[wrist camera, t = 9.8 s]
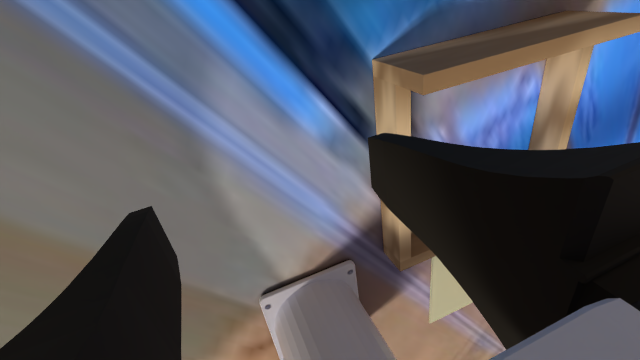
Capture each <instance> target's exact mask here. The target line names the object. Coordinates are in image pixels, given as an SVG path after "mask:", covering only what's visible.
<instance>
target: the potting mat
mask: <svg viewBox="0 0 640 360" xmlns="http://www.w3.org/2000/svg"><path fill="white" fill-rule="evenodd" d="M471 303H473V301H472V300H471V299H470V298H469V296H468V295H467V294H466V292H465V291H464V290H463V289H462V287H461V286H460V285H459V283H458V282H457V281H456V279H455V278H454V277H453V276H452V275H451V273H450V272H449V271H448V270H447V268H446V267H445V266H444V265H443V264H442V262H441V261H440V260H439V259H438V258H437V256H435V257H432V260H431V284H430V307H429V323H432V322H434V321H436V320H438V319H440V318H442V317H444V316H446V315H448V314H450V313H452V312H454V311H456V310H458V309H460V308H462V307H465V306H467V305H469V304H471Z"/></svg>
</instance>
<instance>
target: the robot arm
mask: <svg viewBox="0 0 640 360" xmlns="http://www.w3.org/2000/svg"><path fill="white" fill-rule="evenodd" d="M368 145H369V158H370V171H371V184H372V188H373V190H374V191H375V192H376V194H377V195H378V196H379V198H380V199H381V200H382V202H383V203H384V204H385V205H386V207H387V208H388V209H389V210H390V211H391V212H392V213H393V214H394V215H395V216H396V217H397V218H398V219H399V220H400V221H401V222H402V223H403V224H404V225H405V226H406V227H407V228H409V229H410V230H411V231H412V232H413V233H414V234H415V235H416V236H417V237H418V238H419V239H420V240H421V241H422V242H423V243H424V244H425V245H426V246H427V247H428V248H429V249H430V250H431V251H432V252H433V253H434V254H435V255H436V256H437V258H438V259H439V260H440V261H441V262H442V264H443V265H444V266H445V267H446V268H447V270H448V271H449V272H450V273H451V275H452V276H453V277H454V278H455V279H456V281H457V282H458V283H459V285H460V286H461V287H462V289H463V290H464V291H465V292H466V294H467V295H468V296H469V298H470V299H471V300H472V301H473V303H474V304H475V306H476V307H477V308H478V310H479V311H480V312H481V314H482V315H483V317H484V318H485V319H486V321H487V322H488V324H489V325H490V326H491V328H492V329H493V331H494V332H495V334H496V335H497V336H498V338H499V339H500V341H501V342H502V344H503V345H504V347H505V348H506V351H504V352H502V353H500V354H498V355H497V356H495V357H493V358H491V359H489V360H640V142H638V143H630V144H621V145H612V146H603V147H593V148H578V149H561V150H508V149H493V148H480V147H471V146H464V145H457V144H450V143H444V142H438V141H433V140H427V139H422V138H417V137H411V136H406V135H400V134H393V133H381V134H378V135H375V136H372V137H369V138H368ZM349 270H350V271H349ZM259 303H260V306H261V309H262V311H263V314H264V317H265V320H266V322H267V325H268V328H269V331H270V333H271V336H272V339H273V342H274V344H275V347H276V350H277V353H278V355H279V358H280V360H397V359H396V358H395V356H394V354H393V353H392V351H391V350H390V348H389V347H388V345H387V343H386V342H385V340H384V339H383V337H382V335H381V334H380V332H379V331H378V329H377V328H376V326H375V324H374V323H373V321H372V320H371V318H370V317H369V315H368V313H367V312H366V310H365V309H364V307H363V305H362V304H361V302H360V301H359V294H358V286H357V278H356V270H355V264H354V263H353V261H351V260H348V261H345V262H343V263H340V264H338V265H335V266H333V267H331V268H328V269H326V270H323V271H321V272H318V273H316V274H314V275H311V276H309V277H306V278H304V279H301V280H299V281H297V282H294V283H292V284H289V285H287V286H284V287H282V288H280V289H277V290H275V291H272V292H270V293H267V294H265V295H263V296H261V298H260V299H259ZM268 304H269V305H268ZM266 305H267V306H266ZM0 360H181V279H180V272H179V266H178V259H177V256H176V254H175V252H174V250H173V248H172V246H171V244H170V242H169V240H168V238H167V236H166V234H165V232H164V230H163V228H162V226H161V224H160V222H159V220H158V218H157V216H156V214H155V212H154V210H153V208H152V206H150V207H147V208H144V209H141V210H138V211H134V212H131V213H129V214H128V215H127V216H126V217H125V219H124V220H123V221H122V222H121V223H120V225H119V226H118V227H117V228H116V230H115V231H114V232H113V233H112V235H111V236H110V237H109V239H108V240H107V241H106V242H105V244H104V245H103V246H102V247H101V248H100V250H99V251H98V252H97V253H96V255H95V256H94V257H93V258H92V260H91V261H90V262H89V263H88V264H87V265H86V266H85V267H84V269H83V270H82V271H81V272H80V273H79V274H78V275H77V276H76V278H75V279H74V280H73V281H72V282H71V283H70V284H69V286H68V287H67V288H66V289H65V290H64V291H63V292H62V293H61V294H60V295H59V296H58V297H57V298H56V299H55V300H54V301H53V302H52V303H51V304H50V305H49V306H48V307H47V308H46V309H45V310H44V311H43V312H42V313H41V314H39V315H38V316H37V317H36V318H35V319H34V320H33V321H32V322H31V323H30V324H29V325H28V326H27V327H25V328H24V329H23V330H22V331H21V332H20V333H18V334H17V335H16V336H15V337H14V338H13V339H11V340H10V341H9V342H8V343H7V344H5V345H4V346H3V347H2V348H1V349H0Z"/></svg>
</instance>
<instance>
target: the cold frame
mask: <svg viewBox="0 0 640 360" xmlns="http://www.w3.org/2000/svg"><path fill="white" fill-rule="evenodd" d="M637 32H640V13H617V12H587V11H564V12H560V13H556V14H552V15H548V16H544V17H540V18H536V19H532V20H528V21H524V22H520V23H516V24H512V25H508V26H504V27H500V28H496V29H492V30H488V31H484V32H480V33H476V34H472V35H468V36H464V37H460V38H456V39H452V40H448V41H444V42H440V43H436V44H432V45H428V46H424V47H420V48H416V49H413V50H409V51H405V52H401V53H397V54H393V55H389V56H385V57H381V58H377V59H373V60H372V64H373V81H374V97H375V114H376V130H377V135H378V134H381V133H393V134H400V135H406V136H411V91H413V92H416V93H419V94H421V95H426V94H429V93H432V92H436V91H439V90H443V89H446V88H449V87H453V86H456V85H460V84H463V83H466V82H470V81H473V80H477V79H480V78H483V77H487V76H490V75H494V74H497V73H500V72H504V71H507V70H511V69H514V68H517V67H521V66H524V65H528V64H531V63H534V62H538V61H541V60H545V59H547V61H546V66H545V70H544V75H543V80H542V85H541V90H540V95H539V100H538V105H537V110H536V115H535V120H534V125H533V130H532V135H531V139H530V144H529V149H528V150H561V149H566V147H567V144H568V140H569V136H570V132H571V129H572V125H573V121H574V118H575V114H576V110H577V106H578V103H579V99H580V95H581V91H582V88H583V84H584V80H585V77H586V73H587V69H588V65H589V62H590V58H591V54H592V50H593V47H594V45H596V44H599V43H603V42H606V41H609V40H613V39H616V38H620V37H623V36H626V35H630V34H633V33H637ZM381 213H382V230H383V246H384V253H385V254H386V255H387V256H388V258H389V259H390V260H391V261H392V262H393V263H394V265H395V266H396V267H397V268H398V269H399V270H400V271H403V270H405V269H407V268H410V267H412V266H414V265H416V264H419V263H421V262H423V261H425V260H428V259H430V258H432V257H435V256H436V255H435V254H434V253H433V252H432V251H431V250H430V249H429V248H428V247H427V246H426V245H425V244H424V243H423V242H422V241H421V240H420V239H419V238H418V237H417V236H416V235H415V234H414V233H413V232H411V230H410V229H409V228H407V227H406V226H405V225H404V224H403V223H402V222H401V221H400V220H399V219H398V218H397V217H396V216H395V215H394V214H393V213H392V212H391V211H390V210H389V209H388V208H387V207H386V205H385V204H384V203H383V202H382V200H381Z"/></svg>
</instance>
